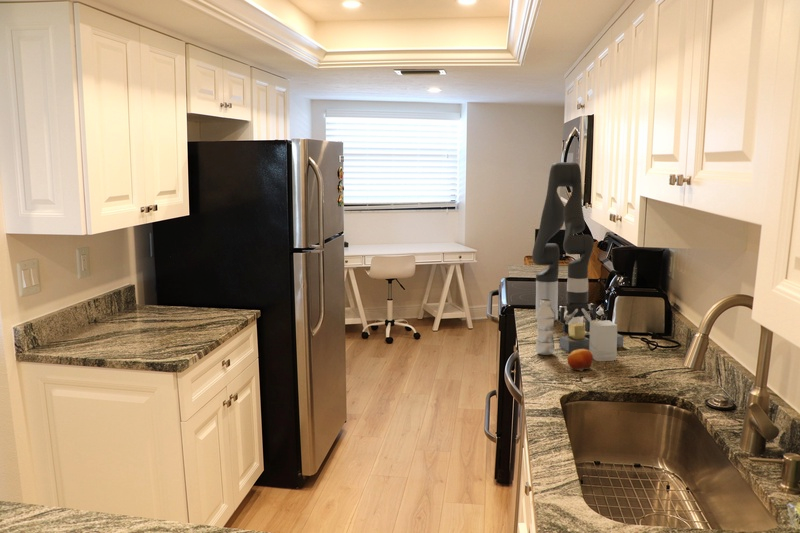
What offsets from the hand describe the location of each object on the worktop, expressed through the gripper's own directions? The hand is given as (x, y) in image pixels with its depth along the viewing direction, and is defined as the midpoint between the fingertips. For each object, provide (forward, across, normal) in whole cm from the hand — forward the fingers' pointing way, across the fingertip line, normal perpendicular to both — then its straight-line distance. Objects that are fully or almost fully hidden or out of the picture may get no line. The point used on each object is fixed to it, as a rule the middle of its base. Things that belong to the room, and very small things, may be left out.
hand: (576, 332), depth 234 cm
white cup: (+6, -10, -21) cm, 24 cm away
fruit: (+6, +10, +21) cm, 24 cm away
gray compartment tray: (+6, -6, 0) cm, 8 cm away
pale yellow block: (+5, 0, 0) cm, 5 cm away
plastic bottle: (+6, +14, +3) cm, 16 cm away
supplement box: (+6, -3, +13) cm, 15 cm away
